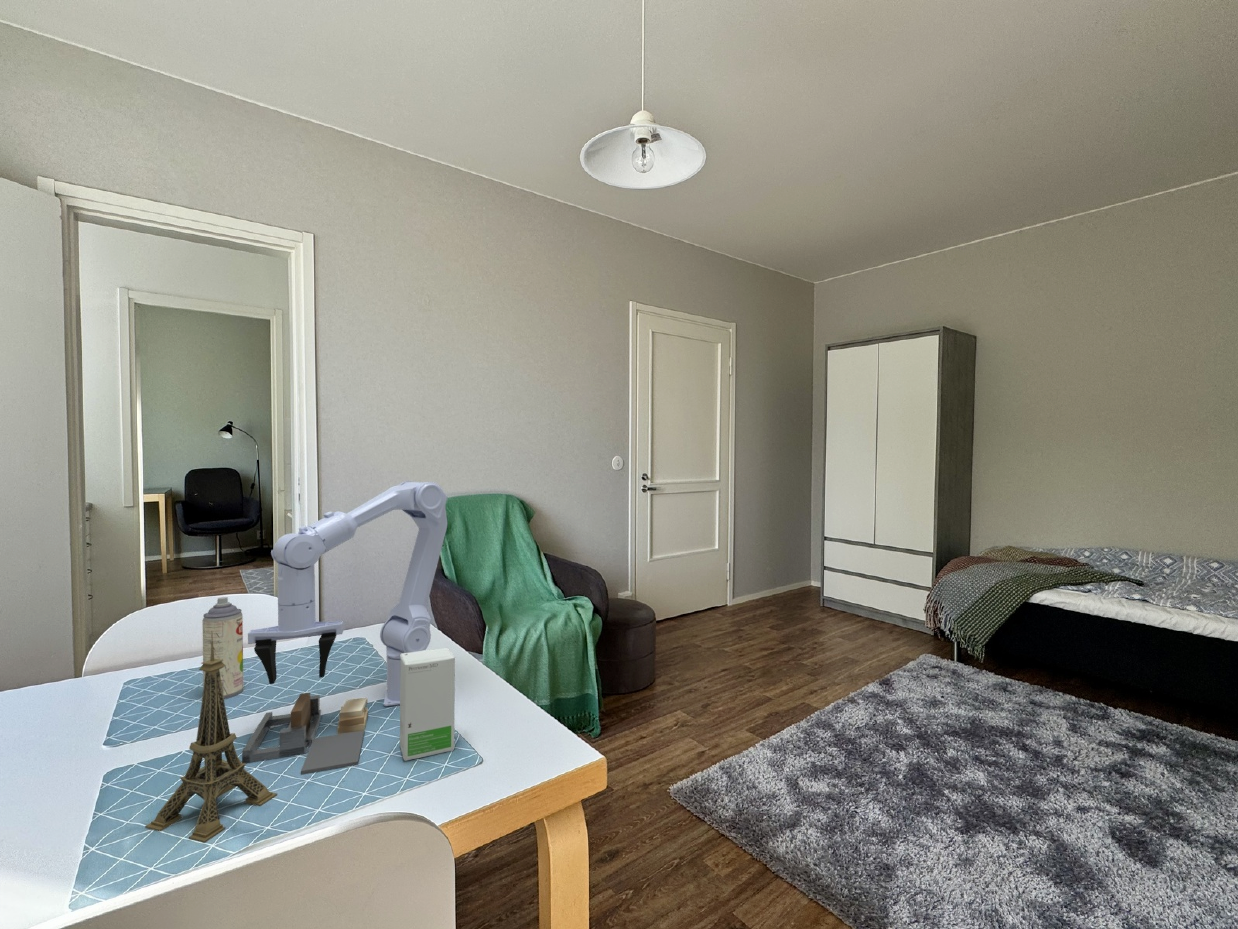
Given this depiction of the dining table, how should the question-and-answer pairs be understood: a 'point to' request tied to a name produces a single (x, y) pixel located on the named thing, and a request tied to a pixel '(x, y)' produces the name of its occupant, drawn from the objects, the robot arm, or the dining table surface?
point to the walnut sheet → (301, 712)
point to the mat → (333, 752)
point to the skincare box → (427, 703)
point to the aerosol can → (225, 644)
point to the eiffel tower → (211, 764)
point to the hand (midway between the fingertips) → (297, 678)
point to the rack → (283, 736)
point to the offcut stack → (353, 716)
